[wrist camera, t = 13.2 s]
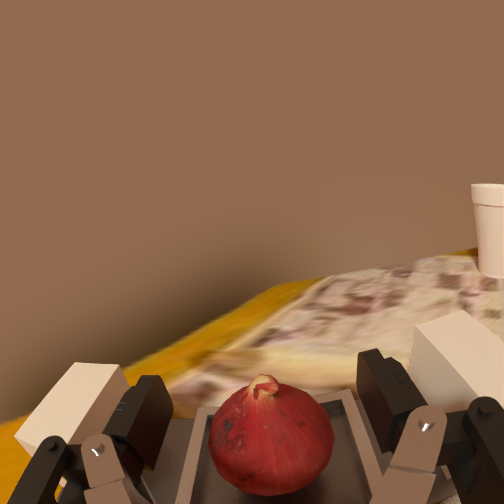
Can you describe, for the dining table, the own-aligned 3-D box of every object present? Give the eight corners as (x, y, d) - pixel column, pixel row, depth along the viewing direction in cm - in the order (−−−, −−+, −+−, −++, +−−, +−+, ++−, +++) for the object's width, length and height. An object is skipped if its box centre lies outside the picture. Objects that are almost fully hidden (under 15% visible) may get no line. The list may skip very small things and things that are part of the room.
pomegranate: (251, 530, 8) (205, 462, 6) (214, 459, 13) (171, 364, 11) (350, 481, 10) (368, 384, 8) (298, 425, 15) (286, 325, 13)
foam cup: (462, 263, 35) (462, 184, 32) (502, 259, 32) (504, 183, 29) (484, 285, 27) (488, 188, 24) (528, 279, 23) (533, 189, 20)
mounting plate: (445, 375, 16) (450, 356, 16) (509, 461, 6) (523, 443, 5) (111, 417, 18) (100, 401, 17) (63, 508, 8) (46, 494, 7)
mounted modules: (444, 376, 15) (460, 307, 14) (497, 448, 7) (541, 375, 6) (110, 419, 17) (77, 360, 15) (71, 494, 9) (14, 436, 7)
